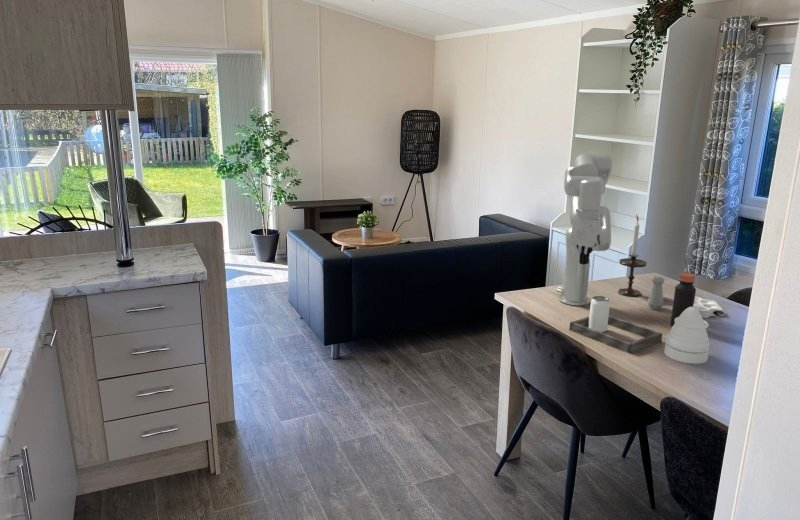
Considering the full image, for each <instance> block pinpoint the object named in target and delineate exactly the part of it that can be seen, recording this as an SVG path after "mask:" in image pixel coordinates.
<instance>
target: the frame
mask: <svg viewBox="0 0 800 520" xmlns="http://www.w3.org/2000/svg"><path fill="white" fill-rule="evenodd" d="M588 325H589V316H586V317H584V318H583V317H582V318H580V319H576V320H574V321H570V322H569V329H568V331H570V330H572V331H571V332H573V331H574V332H573V333H575V332H577V333H576V334H578V333H580V334H579V335H581V334H582V335H581V336H583V335H584V337H586V336H587V337H586V338H588V337H589V339H591V338H592V339H591V340H594V339H595V340H594V341H596V340H597V342H599V341H600V342H599V343H601V342H603V343H602V344H604V343H605V344H604V345H606V346H609V345H610V347H612V348H614V347H615V349H618V350H620V351H622V350H623V351H622V352H625V351H626V352H625V353H627V352H628V353H627V354H630V353H631V354H634V353H635V352H638V350H639V351H640V350H644V349H646V348H649V347H650V346H653V345H656V344H659V343H660V342H662V338H663V333H662V332H659V331H656V330H654V329H650V328H648V327H644V326H641V325H638V324H635V323H632V322H629V321H627V320H623V319H620V318H617V317H615V316H612V315H609V316H608V325H610V326H612V327H615V328H618V329H621V330H624V331H627V332H629V333H633V334H635V335H637V336H641V337H643V338H641V339H638V340H636V341H633V342H628V341H626V340H624V339H623V340H622V339H621V338H618V337H615V336H611V335H609V334H606V333H605V332H603V333H601V332H599V331H596V330H593V329H590V328H589V326H588ZM585 326H586V327H585Z"/></svg>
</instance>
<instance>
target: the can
mask: <svg viewBox="0 0 800 520" xmlns="http://www.w3.org/2000/svg"><path fill="white" fill-rule="evenodd" d="M610 305H611V303H610V298H608V297H606V296H603V295H595V296H592V299H591V300H590V307H589V316H588V317H589V326H588V328H590V329H593V330H596V331H599V332H603V333H606V332H607V331H608V325H609V324H608V316H610V315H609V313H610ZM605 331H606V332H605Z"/></svg>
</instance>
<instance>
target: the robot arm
mask: <svg viewBox="0 0 800 520" xmlns="http://www.w3.org/2000/svg"><path fill="white" fill-rule="evenodd" d="M612 170H613V159H612V157H611V156H610V155H609V154H606V153H582V154H579V155H577V156H576V158H575V159H574V163H573V165H572V166H569V167H567V169H566V170H565V173H564V179H563V185H564V186H563V187H564V192H565V195H567V197H568V198H569V222H570V225H571V227H569V228H568V229H567V230H566V232H565V250H566V251H565V252H566V255H565V268H564V280H563V286H561V285H559V286H558V288H556V292H557V293H560V295H559V296H558V300H559V301H560V302H561V303H563V304H565V305H569V306H576V307H577V306H587V305H589V304H591V298H590V297H588V288H589V278H590V267H591V262H590V261H591V260H590V256H591V255H590V254H592V252H595V251H597V252H605V251H608V250H609V249H610V248H611V244H612V226H611V225H612V224H611V223H612V222H611V219H612V218H611V212H610V210H609V208H608V207H606V206H605V205H604V206H603V205H601V201H602V195H603V194H605V190H606V185H607V184H608V182H609V178H610V176H611V174H612Z"/></svg>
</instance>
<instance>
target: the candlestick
mask: <svg viewBox="0 0 800 520" xmlns="http://www.w3.org/2000/svg"><path fill="white" fill-rule="evenodd" d="M635 217H636V224H634V228H633V229H634V230H633V236H632V237H633V239H632V245H631V246H632V247H631V254H628V256H629V258H628V257H627V258H620V259H619V261H618V263H619V264H620V265H622V266H623V267H625V266H626V267H629V268H630V269H629V270H630V271H629V275H627V278H628V279H627V280H628V281H627V284H628V285H627V288H620V289H618V294H619V295H621V296H624V297H631V298H637V297H641V293H642V292H641V291H640V290H637V289H634V288H633V284H634V283H635V282H634V280H635V275H634V271H635V268H644V267H646V266H647V261H645V260H643V259H638V258H637V257H639V255H637V249H638V242H639V233H640V224H639V219H640V218H639V216H638V214H637V213H636V215H635Z"/></svg>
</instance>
